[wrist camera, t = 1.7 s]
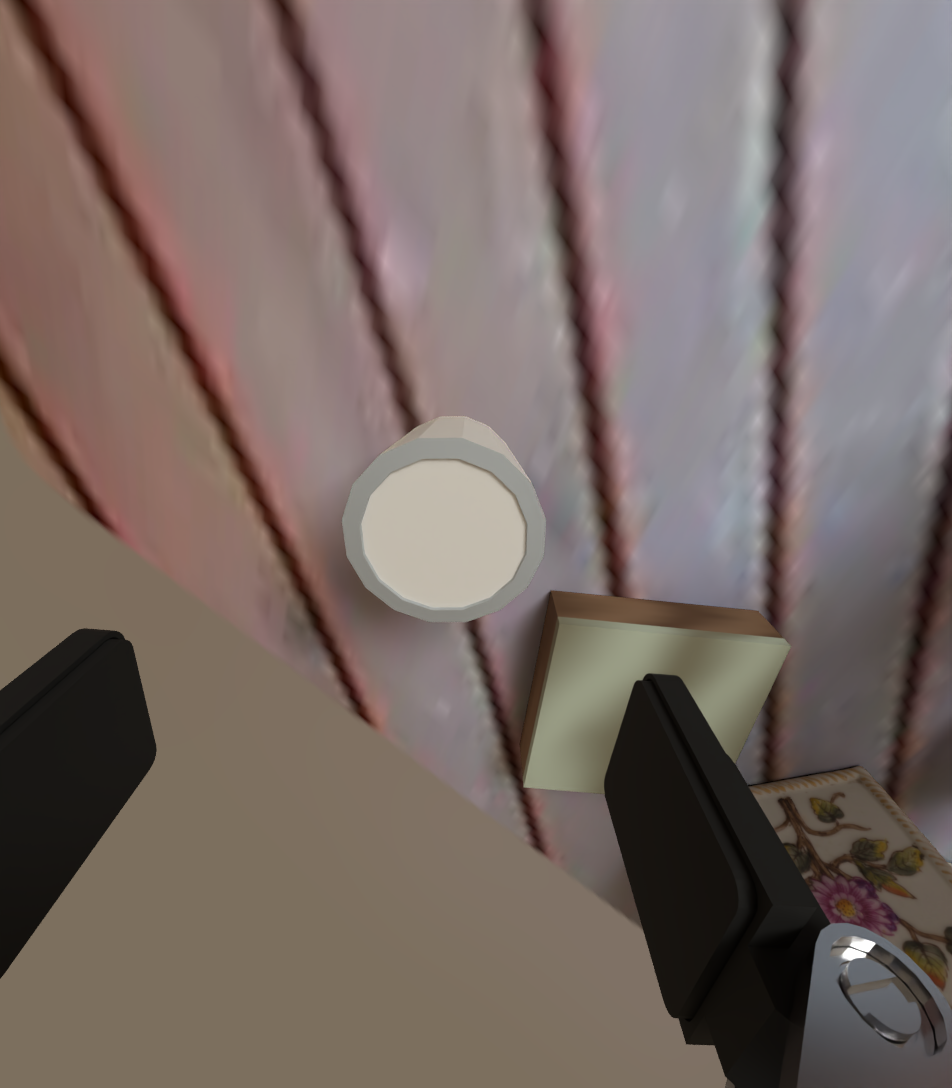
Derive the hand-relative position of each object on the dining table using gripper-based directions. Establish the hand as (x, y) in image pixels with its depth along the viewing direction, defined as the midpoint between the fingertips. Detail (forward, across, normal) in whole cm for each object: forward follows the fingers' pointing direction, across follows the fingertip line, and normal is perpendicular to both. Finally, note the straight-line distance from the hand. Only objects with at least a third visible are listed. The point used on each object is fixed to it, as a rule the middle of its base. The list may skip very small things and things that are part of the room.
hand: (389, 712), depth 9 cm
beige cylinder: (+15, -1, 0) cm, 15 cm away
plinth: (+14, -12, +11) cm, 21 cm away
